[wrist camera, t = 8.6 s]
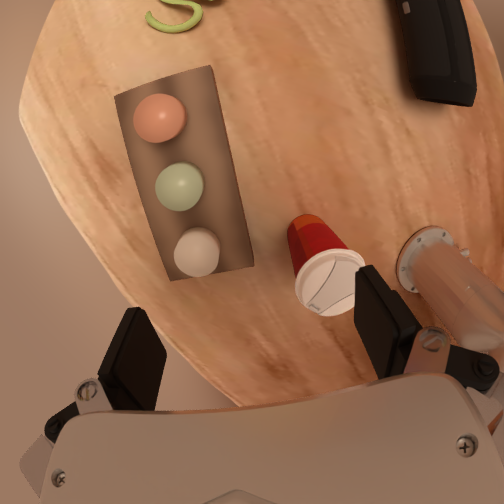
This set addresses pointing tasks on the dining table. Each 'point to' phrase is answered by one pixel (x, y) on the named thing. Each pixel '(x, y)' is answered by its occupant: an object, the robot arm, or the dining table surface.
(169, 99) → the terracotta button
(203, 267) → the cream button
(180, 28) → the figurine
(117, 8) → the dining table surface
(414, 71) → the portable speaker
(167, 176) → the sage button
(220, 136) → the switch board
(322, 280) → the paper cup
